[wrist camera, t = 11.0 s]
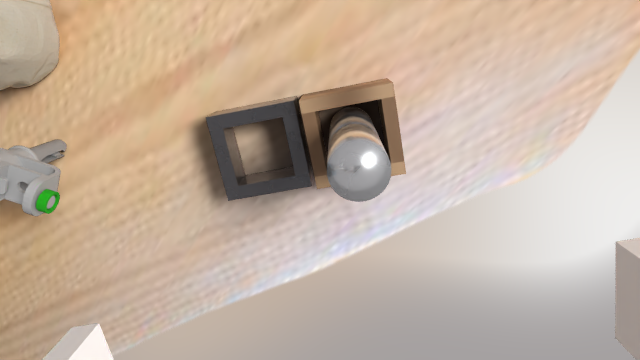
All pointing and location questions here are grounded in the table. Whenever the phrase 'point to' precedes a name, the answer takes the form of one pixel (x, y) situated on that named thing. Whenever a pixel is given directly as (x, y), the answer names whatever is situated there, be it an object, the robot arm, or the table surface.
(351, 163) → the dome-ended metal rod
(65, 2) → the table surface
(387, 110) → the open square brown box
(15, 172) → the mechanical component
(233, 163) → the socket
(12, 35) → the toy tool belt
